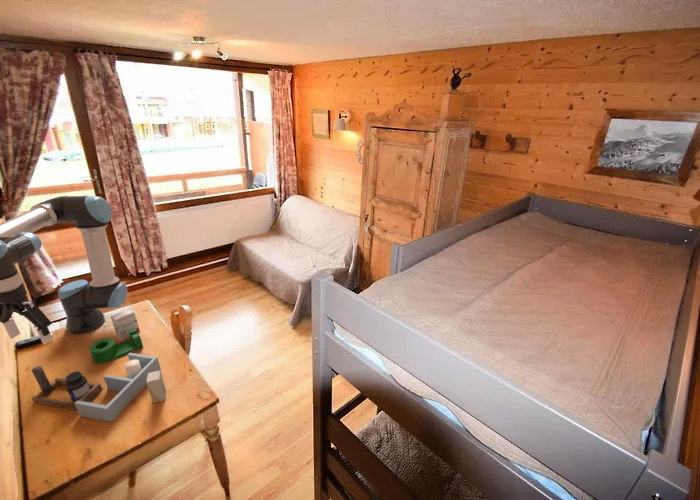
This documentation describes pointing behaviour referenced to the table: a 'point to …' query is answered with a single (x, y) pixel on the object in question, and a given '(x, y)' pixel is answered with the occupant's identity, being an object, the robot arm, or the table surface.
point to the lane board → (126, 388)
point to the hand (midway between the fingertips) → (31, 339)
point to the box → (156, 386)
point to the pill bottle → (76, 386)
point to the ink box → (124, 323)
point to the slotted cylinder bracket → (114, 348)
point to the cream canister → (132, 368)
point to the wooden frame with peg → (48, 387)
